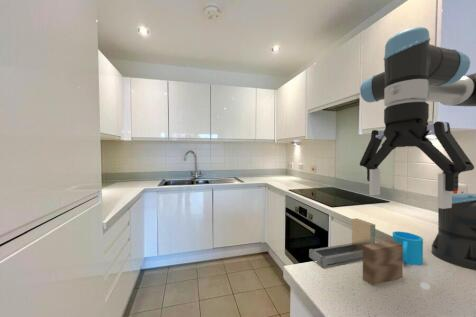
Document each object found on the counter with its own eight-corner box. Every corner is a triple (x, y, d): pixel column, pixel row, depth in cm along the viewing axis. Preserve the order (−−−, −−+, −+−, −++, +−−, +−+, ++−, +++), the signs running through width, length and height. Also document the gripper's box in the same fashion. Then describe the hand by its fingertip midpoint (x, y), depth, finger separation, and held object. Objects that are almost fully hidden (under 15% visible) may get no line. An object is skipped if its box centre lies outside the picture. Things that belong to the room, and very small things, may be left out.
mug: (394, 250, 75) (394, 229, 75) (423, 258, 69) (423, 235, 69) (388, 262, 67) (388, 238, 67) (421, 272, 61) (421, 246, 61)
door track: (356, 248, 77) (357, 218, 77) (375, 258, 70) (375, 224, 69) (309, 257, 70) (309, 223, 70) (324, 268, 63) (324, 231, 63)
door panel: (392, 272, 61) (392, 240, 61) (402, 277, 58) (402, 244, 58) (362, 279, 58) (362, 245, 58) (372, 285, 55) (372, 249, 55)
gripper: (345, 115, 54) (344, 191, 54) (478, 82, 30) (477, 218, 31) (365, 117, 57) (365, 190, 57) (504, 87, 33) (502, 214, 33)
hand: (404, 200), depth 44 cm, fingers open, 13 cm apart
